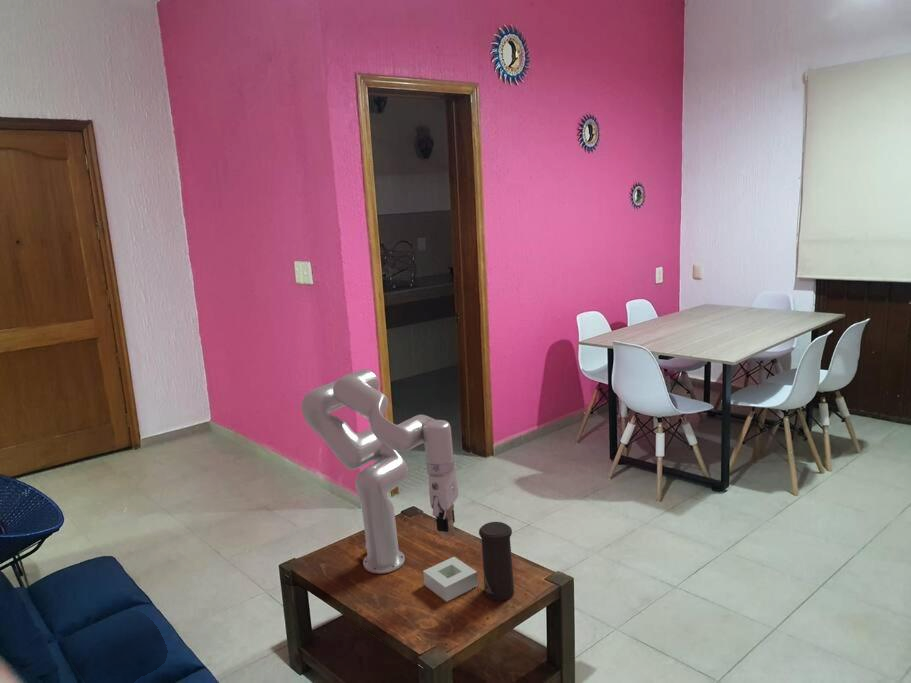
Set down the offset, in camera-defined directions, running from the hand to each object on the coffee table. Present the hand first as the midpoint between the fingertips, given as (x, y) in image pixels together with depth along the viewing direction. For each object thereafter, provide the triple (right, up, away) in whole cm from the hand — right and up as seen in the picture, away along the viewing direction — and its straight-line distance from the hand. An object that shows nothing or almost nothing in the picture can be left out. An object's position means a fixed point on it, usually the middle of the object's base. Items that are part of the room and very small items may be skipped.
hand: (446, 525), depth 190 cm
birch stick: (0, -3, +1) cm, 3 cm away
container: (+15, -18, -1) cm, 24 cm away
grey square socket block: (+1, -18, +4) cm, 19 cm away
